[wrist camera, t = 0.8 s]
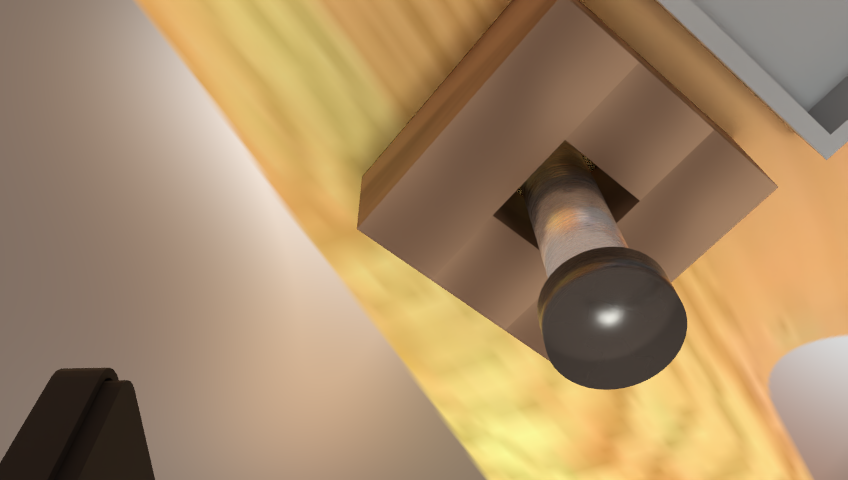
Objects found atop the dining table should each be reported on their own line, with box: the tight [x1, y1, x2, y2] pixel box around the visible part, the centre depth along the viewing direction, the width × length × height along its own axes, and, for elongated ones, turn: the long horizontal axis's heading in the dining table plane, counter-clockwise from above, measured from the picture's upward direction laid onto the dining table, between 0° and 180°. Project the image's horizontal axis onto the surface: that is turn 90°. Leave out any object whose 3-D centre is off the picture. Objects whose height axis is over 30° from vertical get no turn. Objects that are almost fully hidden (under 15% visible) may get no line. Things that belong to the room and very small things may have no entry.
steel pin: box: [520, 140, 687, 390], centre depth 31 cm, size 4×4×14 cm
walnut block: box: [357, 0, 778, 362], centre depth 35 cm, size 12×12×5 cm
